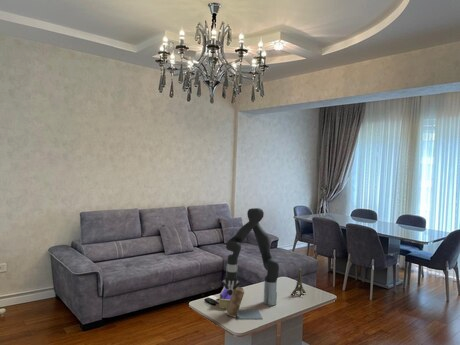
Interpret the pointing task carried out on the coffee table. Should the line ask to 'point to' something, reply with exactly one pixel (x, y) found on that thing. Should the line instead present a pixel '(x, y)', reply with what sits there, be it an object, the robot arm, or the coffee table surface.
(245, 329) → the coffee table surface
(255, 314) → the mat
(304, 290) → the eiffel tower
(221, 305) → the toy sofa
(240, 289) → the walnut block
